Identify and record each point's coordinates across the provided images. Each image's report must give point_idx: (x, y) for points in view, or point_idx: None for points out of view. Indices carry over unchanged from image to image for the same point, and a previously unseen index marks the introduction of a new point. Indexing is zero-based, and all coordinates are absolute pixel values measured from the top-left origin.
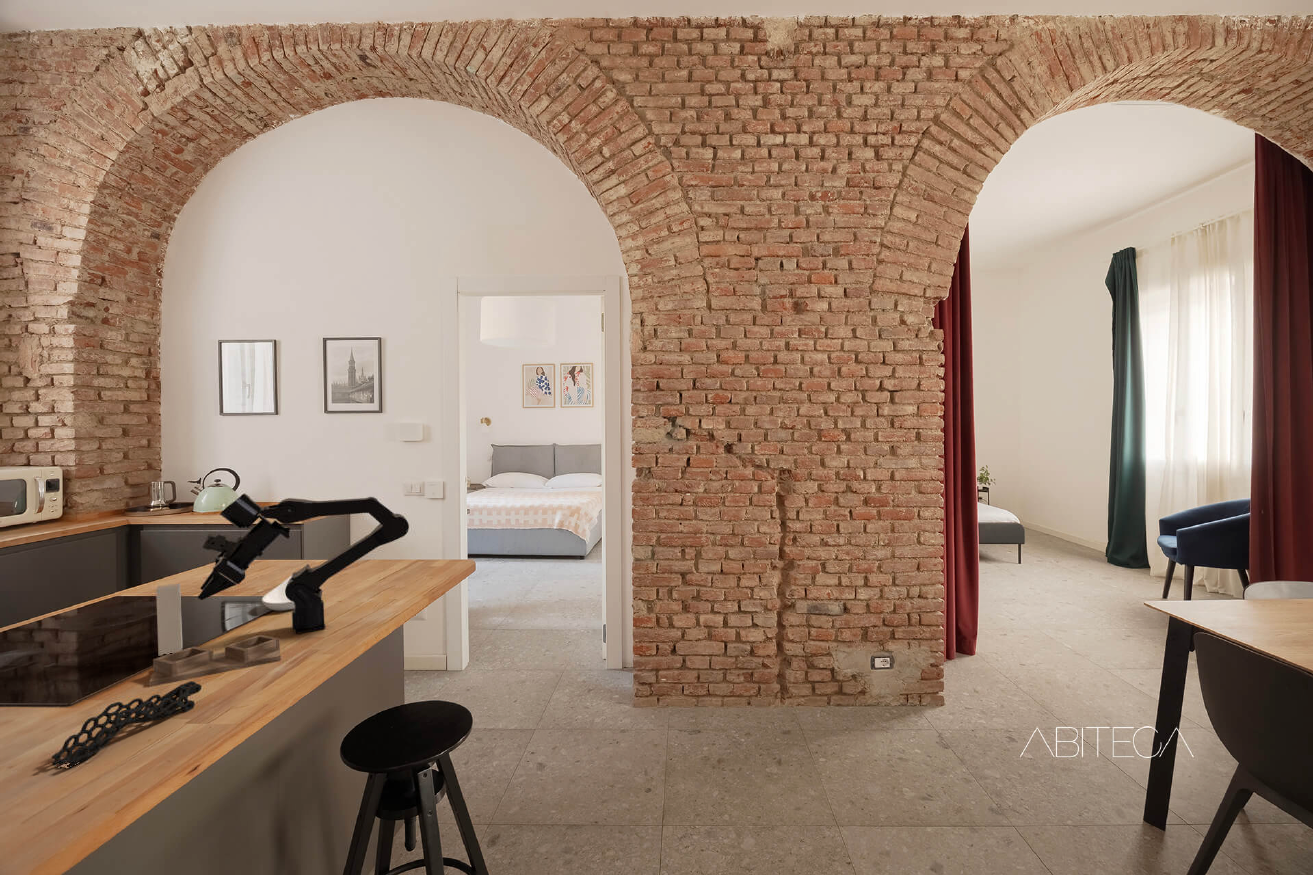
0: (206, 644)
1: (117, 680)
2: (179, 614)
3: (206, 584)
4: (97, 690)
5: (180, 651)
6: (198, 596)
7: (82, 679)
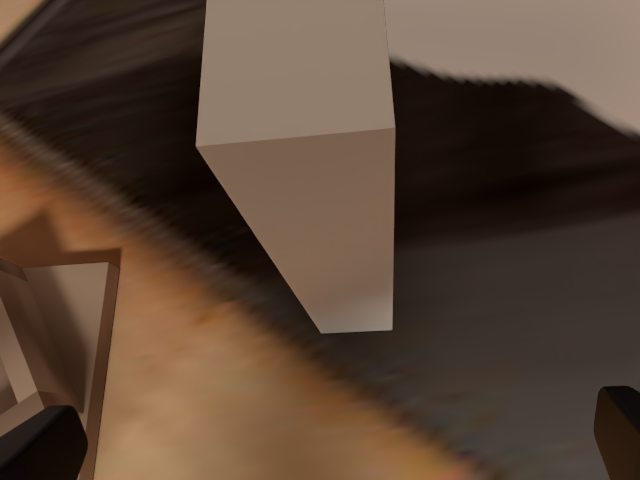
0: (380, 446)
1: (89, 165)
2: (282, 270)
3: (637, 472)
4: (30, 132)
5: (8, 351)
6: (40, 413)
7: (189, 62)
